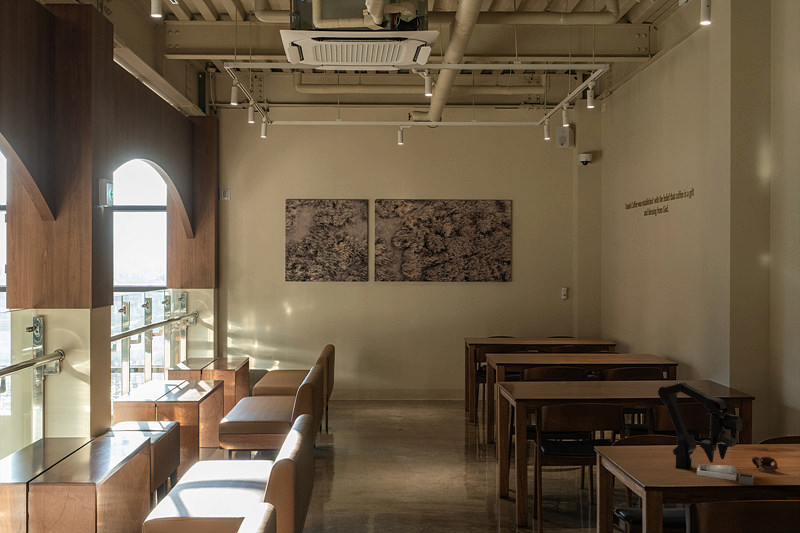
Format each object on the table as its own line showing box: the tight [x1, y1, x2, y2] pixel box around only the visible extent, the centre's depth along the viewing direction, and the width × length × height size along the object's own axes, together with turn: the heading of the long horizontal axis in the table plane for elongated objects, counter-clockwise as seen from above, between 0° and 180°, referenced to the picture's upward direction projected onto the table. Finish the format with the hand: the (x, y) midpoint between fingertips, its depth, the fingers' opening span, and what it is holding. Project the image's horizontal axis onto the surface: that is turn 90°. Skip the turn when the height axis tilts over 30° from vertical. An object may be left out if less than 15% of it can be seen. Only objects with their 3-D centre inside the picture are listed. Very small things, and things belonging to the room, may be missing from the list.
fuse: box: [705, 463, 738, 475], centre depth 308 cm, size 4×4×12 cm
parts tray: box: [696, 463, 737, 481], centre depth 309 cm, size 16×12×3 cm
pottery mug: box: [751, 455, 779, 473], centre depth 316 cm, size 12×10×8 cm
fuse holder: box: [738, 472, 754, 486], centre depth 298 cm, size 6×6×4 cm
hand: (716, 460), depth 309 cm, fingers open, 9 cm apart
